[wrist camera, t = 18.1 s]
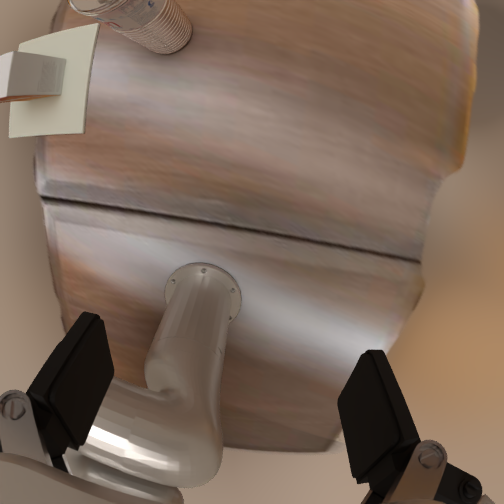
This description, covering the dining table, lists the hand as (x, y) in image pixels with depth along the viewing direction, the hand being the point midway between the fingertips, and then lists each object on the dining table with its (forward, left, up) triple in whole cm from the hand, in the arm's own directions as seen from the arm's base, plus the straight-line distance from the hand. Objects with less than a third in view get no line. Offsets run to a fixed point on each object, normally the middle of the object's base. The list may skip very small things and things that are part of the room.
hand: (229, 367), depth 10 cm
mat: (+14, +35, -33) cm, 50 cm away
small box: (+14, +35, -33) cm, 50 cm away
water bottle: (+20, +14, -34) cm, 41 cm away
